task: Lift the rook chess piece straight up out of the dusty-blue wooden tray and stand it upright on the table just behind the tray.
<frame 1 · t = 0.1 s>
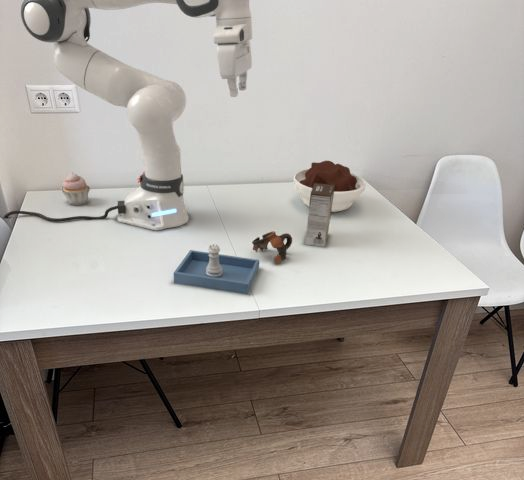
hand: (238, 93, 131), 39 cm above the table, tool pointing down, fingers open, 8 cm apart
broken clay pot: (272, 256, 141), on the table
rook chess piece: (214, 274, 130), resting on tray
bowl of brown lumps: (325, 206, 174), on the table
cupcake: (78, 202, 165), on the table
tray: (217, 276, 130), on the table
coffee box: (316, 240, 152), on the table
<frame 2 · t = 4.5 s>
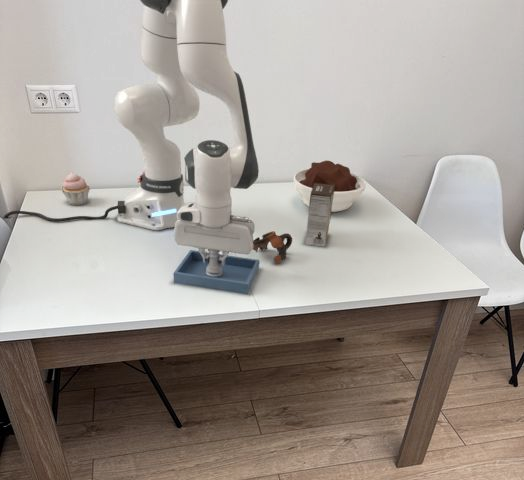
hand: (214, 263, 128), 4 cm above the table, tool pointing down, fingers closed on rook chess piece, 3 cm apart
rook chess piece: (214, 274, 130), resting on tray, touching gripper
everything else where it was.
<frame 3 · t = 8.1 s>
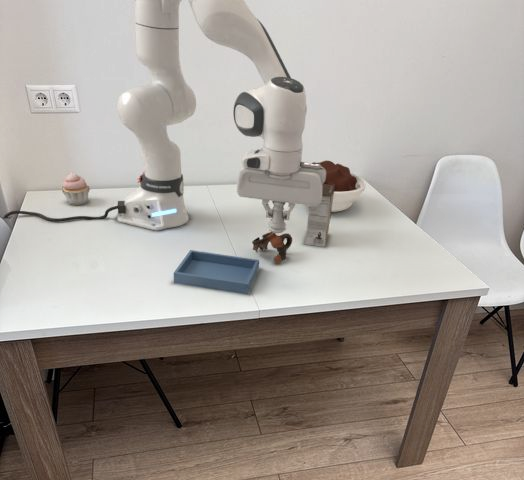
hand: (277, 218, 119), 18 cm above the table, tool pointing down, fingers closed on rook chess piece, 3 cm apart
rook chess piece: (276, 230, 121), point 14 cm above the table, touching gripper
everything else where it was.
when the fingers open (3 cm above the table, at t = 11.7 s): rook chess piece stays where it is, on the table.
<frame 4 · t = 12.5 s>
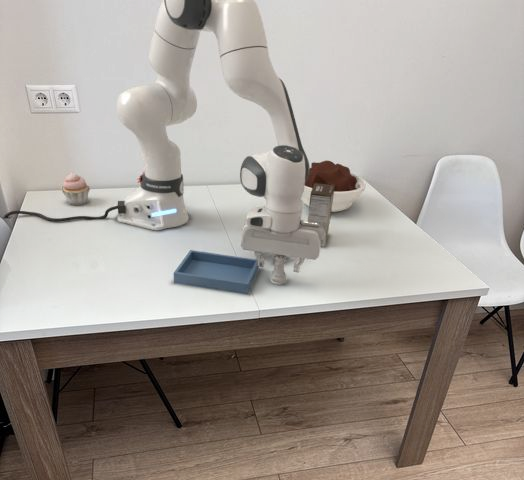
hand: (278, 268, 128), 4 cm above the table, tool pointing down, fingers open, 8 cm apart
rook chess piece: (277, 281, 130), on the table
everything else where it was.
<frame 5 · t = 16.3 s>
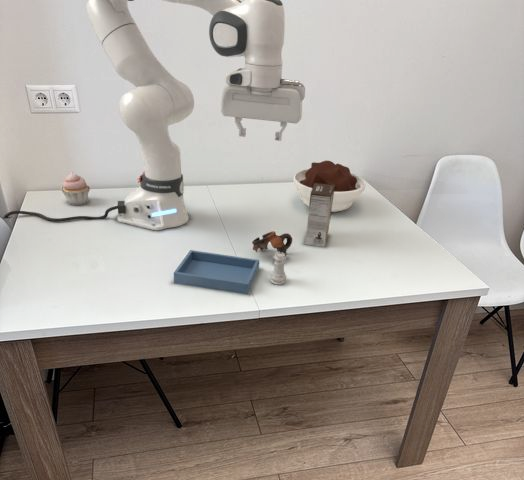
hand: (260, 138, 125), 31 cm above the table, tool pointing down, fingers open, 8 cm apart
nothing on the table moved.
at the end: rook chess piece inside the target area (0.0 cm from its centre), on the table; rook chess piece tilted 0°; the gripper is holding nothing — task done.
